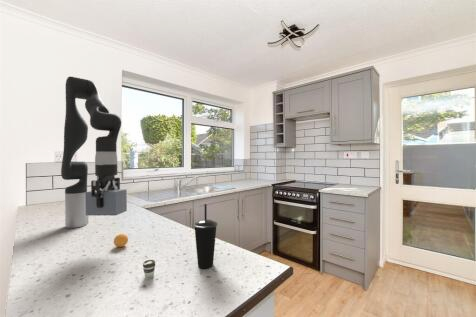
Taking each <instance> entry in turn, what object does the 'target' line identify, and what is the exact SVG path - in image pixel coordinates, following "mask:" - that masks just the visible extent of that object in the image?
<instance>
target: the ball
mask: <svg viewBox="0 0 476 317" xmlns="http://www.w3.org/2000/svg"><path fill="white" fill-rule="evenodd" d="M128 242H129V238H128V235H127V234H125V233H119V234H117V235H115V237H114V238H113V244H114V246H115V247H117V248H121V247H124V246H126V245H127V243H128Z"/></svg>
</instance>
